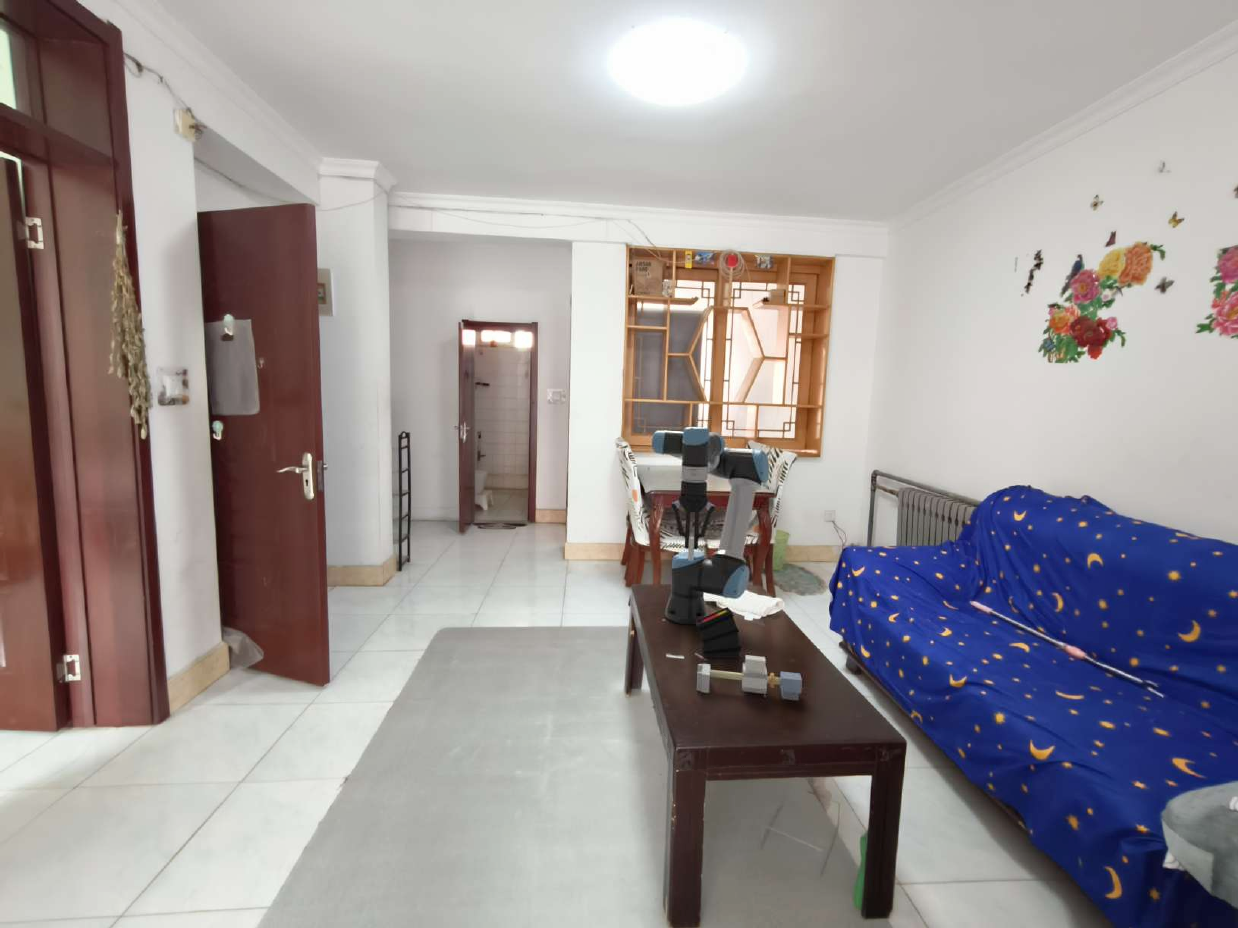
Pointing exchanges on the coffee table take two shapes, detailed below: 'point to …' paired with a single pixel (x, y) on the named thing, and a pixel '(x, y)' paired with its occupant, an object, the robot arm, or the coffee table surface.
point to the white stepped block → (754, 674)
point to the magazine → (719, 635)
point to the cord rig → (787, 680)
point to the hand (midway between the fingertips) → (690, 559)
